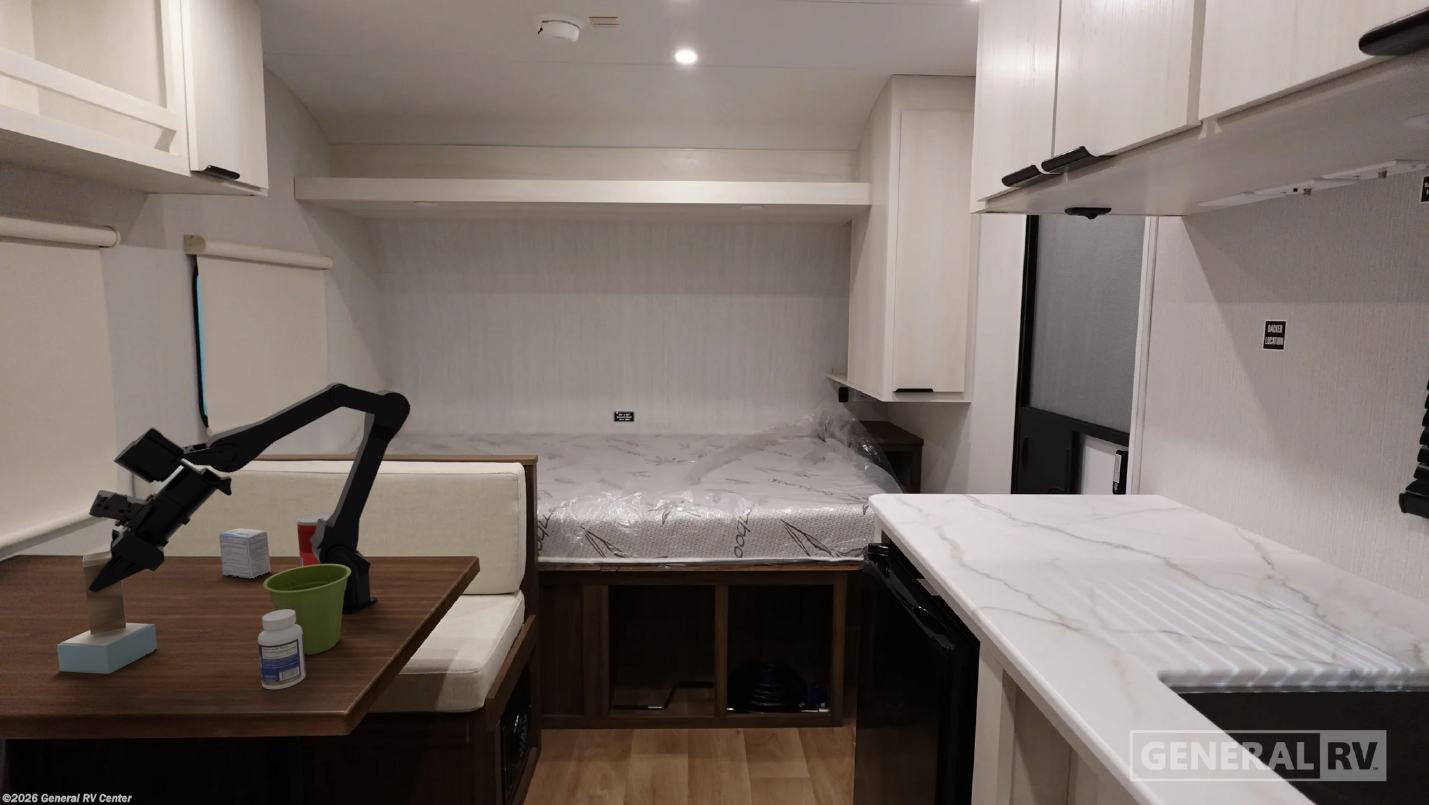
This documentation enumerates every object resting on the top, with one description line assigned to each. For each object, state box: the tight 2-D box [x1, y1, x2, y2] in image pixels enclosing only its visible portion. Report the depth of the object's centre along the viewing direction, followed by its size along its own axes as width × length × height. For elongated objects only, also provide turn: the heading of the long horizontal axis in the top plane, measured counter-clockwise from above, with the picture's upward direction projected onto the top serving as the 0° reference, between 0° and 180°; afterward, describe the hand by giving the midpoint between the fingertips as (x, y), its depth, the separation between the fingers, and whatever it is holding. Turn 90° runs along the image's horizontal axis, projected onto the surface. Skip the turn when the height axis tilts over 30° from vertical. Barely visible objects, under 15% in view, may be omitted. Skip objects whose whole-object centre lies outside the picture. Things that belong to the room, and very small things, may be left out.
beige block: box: [81, 550, 127, 635], centre depth 109 cm, size 4×4×11 cm
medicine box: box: [219, 527, 271, 579], centre depth 147 cm, size 8×4×9 cm, turn 71°
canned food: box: [296, 512, 333, 567], centre depth 149 cm, size 8×8×11 cm
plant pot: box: [262, 564, 351, 656], centre depth 113 cm, size 12×12×11 cm
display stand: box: [56, 622, 158, 675], centre depth 110 cm, size 8×8×4 cm
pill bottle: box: [257, 609, 307, 690], centre depth 103 cm, size 5×5×10 cm
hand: (92, 586), depth 108 cm, fingers closed on beige block, 4 cm apart
